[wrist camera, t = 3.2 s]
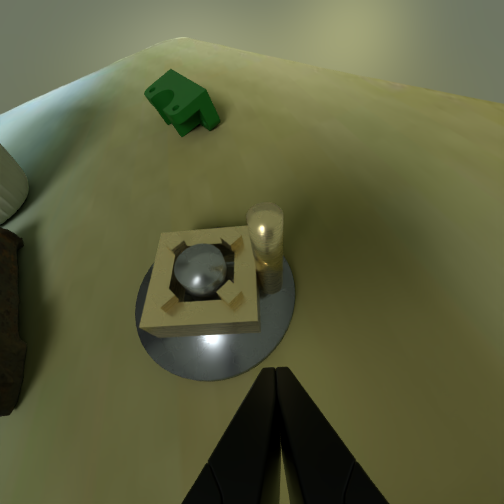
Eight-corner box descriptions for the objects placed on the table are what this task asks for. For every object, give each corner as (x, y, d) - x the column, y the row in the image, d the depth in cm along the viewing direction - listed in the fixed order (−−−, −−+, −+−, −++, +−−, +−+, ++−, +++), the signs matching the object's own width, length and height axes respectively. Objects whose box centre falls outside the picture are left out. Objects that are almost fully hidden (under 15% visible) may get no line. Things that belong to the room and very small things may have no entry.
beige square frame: (287, 331, 17) (292, 281, 10) (158, 337, 18) (79, 296, 11) (278, 243, 22) (276, 166, 15) (174, 251, 22) (125, 182, 15)
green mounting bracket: (180, 143, 43) (141, 94, 38) (204, 123, 44) (169, 70, 38) (195, 148, 34) (146, 83, 28) (226, 122, 34) (183, 52, 29)
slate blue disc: (305, 377, 17) (314, 368, 12) (122, 384, 18) (67, 378, 13) (285, 227, 25) (286, 187, 20) (157, 238, 26) (130, 202, 21)
